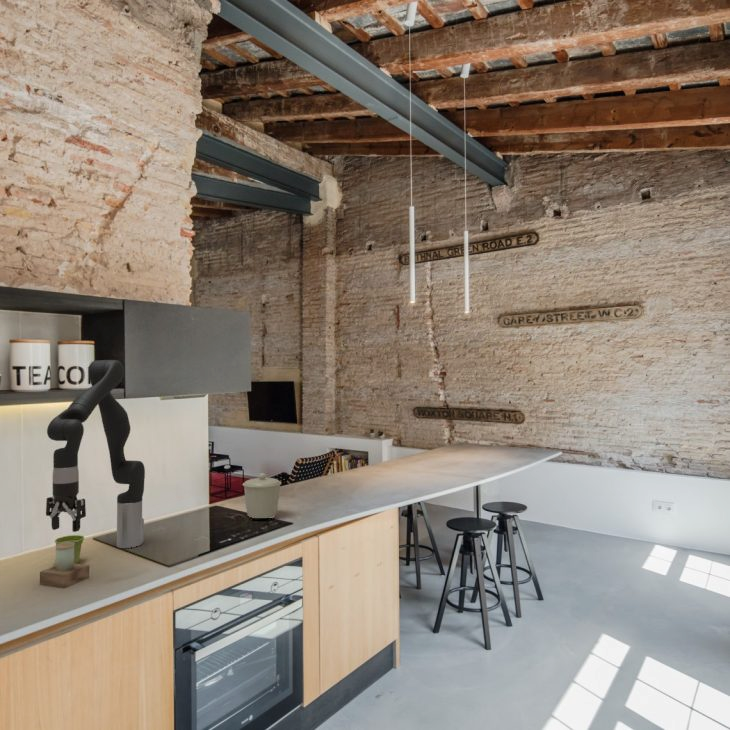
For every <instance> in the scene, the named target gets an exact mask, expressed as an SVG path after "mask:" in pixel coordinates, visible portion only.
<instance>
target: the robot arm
mask: <svg viewBox="0 0 730 730" xmlns="http://www.w3.org/2000/svg"><path fill="white" fill-rule="evenodd" d="M124 376H125V368H124V364H123V363H122V362H121V361H120V360H116V359H102V360H101V359H100V360H93V361H91V362H90V363H89V366H88V378H89V382H90V384H91V386H90V387H89V388H86V389H85V390H84V391H82V392H81V393H80V394H78V395H77V396H76V397H75V398H74V400H72V401H71V403H70V405H69V406H68V407H67V408H65V410H63V411H62V412H61V413H59V414H57V416H55V417H54V418H53V419H52V420H51V421H50V422H49V424H48V426H47V428H46V434H47V437H48V438H49V439H50V440H52V441H57V442H66V444H65V446H64V447H61V448H57V449H55V450H54V452H53V455H52V456H53V457H52V458H53V459H52V460H53V462H52V463H53V464H52V465H53V470H52V496H49V497H46V506H45V507H46V508H45V516H46V517H48V516H49V518H50V519H51V529H52V530H53V531H56V530H58V529H59V528H60V517H59V516H60V514H61V513H62V512H63V513H67V514H68V516H70V517H71V519H72V521H71V522H72V524H71V525H72V532H73V533H77V532H79V531H80V529H81V519H83V518H85V517H86V516H87V514H86V513H87V510H86V509H87V508H86V499H85V498H80V499H78V497H77V496H78V494H79V493H80V487H79V486H80V485H79V484H80V481H79V479H80V478H79V476H80V475H79V462H78V461H79V459H78V457H79V450H80V447H81V443H82V439H83V436H84V434H85V433H84V431H85V428H84V425H83V423H85V422H87V420H88V419H89V417H90V416H91V414H92V413H93V411H95V409H96V407H97V406H98V409H99V412H100V417H101V422H102V427H103V430H104V434H105V438H106V442H107V447H108V451H109V459H110V469H111V474H112V475H111V476H112V479H113V480H114V482H115V483H117V484H118V485H128V489H127V490H126V491H124V492H121V493H120V494H117V497H116V547H117V548H119V549H130V548H131V547H132V548H136V546H137V547H140V546H141V545H142V544H143V543H145V539H144V538H145V519H144V517H143V495H144V491H145V478H146V477H145V476H146V469H145V465H144V463H143V462H142V461H140V460H127V459H126V457H125V445H126V444H127V440H128V438H129V437H130V433H131V425H130V423H131V422H130V419H129V415H128V412H127V411H126V410H125V408H124V407H123V405H121V404H120V403H119V402H118V400H117V399H116V398H115V397H114V396H113V395H112V393H111V392H112V391H113V390H114V389H115V388H116V387H117V386H118V385H119V384H120V383H121V382H122V381H123V378H124Z"/></svg>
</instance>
